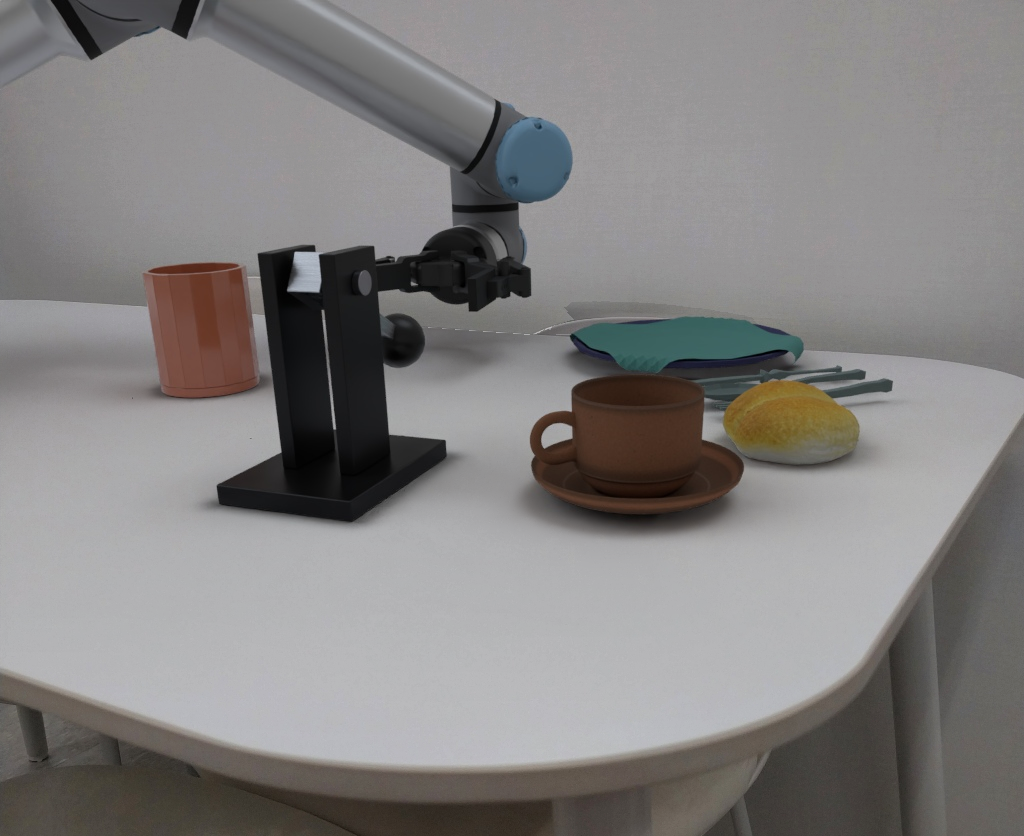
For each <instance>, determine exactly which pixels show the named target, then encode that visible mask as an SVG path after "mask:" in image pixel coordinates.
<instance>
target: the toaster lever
mask: <svg viewBox="0 0 1024 836" xmlns="http://www.w3.org/2000/svg"><path fill="white" fill-rule="evenodd" d="M327 252H328V251H316V252H295V254H294V258H293V263H292V268H291V273H290V278H289V283H288V288H287V292H288V293H290V294H291V295H293V296H294V297H296V298H297V299H298V300H300V301H301V302H303V303H304V304H306V305H307V306H308V307H310V308H311V309H313V310H322V311H324V304H323V294H322V284H321V274H320V263H319V254H323V253H327ZM380 325H381V337H382V350H383V363H384V366H387V367H390V368H395V369H404V368H407V367H410V366H412V365H414V364H415V363H416V362H417V361H419V359H420V358H421V356H422V355H423V353H424V352H425V351H424V350H425V347H426V335H425V331H424V329H423V327H422V326H421V324H420V323H419V322H418V320H416V319H415V318H414V317H412V316H411V315H408V314H406V313H401V312H395V313H389V314H387V315H385V316H384V315H383V314H382V313H380Z"/></svg>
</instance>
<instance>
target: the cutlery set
mask: <svg viewBox="0 0 1024 836" xmlns="http://www.w3.org/2000/svg"><path fill="white" fill-rule="evenodd" d="M569 339H570V341H571V342H572V343H573V345H574V346H575V348H576V349H577V350H578V351H579V352H581V353H582V354H585V355H588V356H590V357H592V358H596V359H599V360H603V361H606V362H607V361H608V362H611V363H612V362H613V363H617V364H618V365H619V366H620V367H621V368H623V370H626V371H630V372H636V371H639V372H642V373H646V372H647V373H648V372H649V373H651V374H652V373H653V374H657V373H659V372H661V371H662V370H663V369H685V370H686V369H691V370H693V369H694V370H700V369H701V370H702V369H717V368H718V369H719V368H720V369H721V368H733V367H740V366H747V365H754V364H760V363H763V362H767V361H769V360H773V359H777V358H780V357H782V356H785V355H786V354H788V353H789V352H790V353H791V354H792V355H793V356H794V357H795V358H794V362H793V363H792V365H794V364H796V362H797V361H798V360H799V359H800V358H801V356H802V355H803V353H804V350H805V349H804V348H805V346H804V342H803V340H802V339H801V338H800V337H799V336H797V335H794V334H793V335H792V334H790V333H788V332H786V331H784V330H781V329H779V328H775V327H771V326H767V325H762V324H758V323H752V322H750V321H749V320H746V319H739V318H738V319H737V318H731V317H730V318H729V317H728V318H725V317H713V316H709V317H707V316H688V315H687V316H680V317H675V318H660V319H641V320H633V321H632V320H631V321H624V322H614V323H613V322H598V323H593V324H591V325H588V326H585V327H582V328H579V329H578V330H576V331H574V332H572V333H570V335H569ZM808 374H809V376H806V377H801V378H797V379H791V381H797V382H801V383H805V384H808V385H811V384H818V383H819V384H820V383H829V382H830V383H831V382H840V381H862V380H866V376H867V375H866V374H867V371H866V370H863V369H861V368H855V369H849V370H844V371H843V366H841V365H836V366H835V367H827V368H819V369H800V370H799V369H798V370H790V371H786V370H781V369H775V368H773V369H771V370H770V371H766V370H765V369H761V368H760V370H759V374H750V375H734V376H723V377H711V378H701V379H693V380H692V379H691V381H693V382H696V383H698V384H700V385H701V386H702V387H703V388H704V390H705V398H704V399H708V400H712V401H721V402H711V406H712V407H715V408H716V409H719V410H720V411H726V409H727V407H728V406H729V405H730V404H731V403H732V402H733V401H734V400H735V399H736V398H737V397H739V396H740V395H741V394H743V393H744V392H746V391H747V390H749V389H751V388H753V387H754V386H756V385H759V384H761V383H764V382H769V381H772V380H785V378H788V377H790V376H798V375H808ZM810 374H817V375H810ZM758 381H759V383H750V382H758ZM893 384H894V380H891V379H889V378H885V377H883V378H879V379H876V380H868V381H862V382H857V383H854V384H850V385H845V386H840V387H834V388H828V389H823V390H822V389H821V390H822V391H823V392H824V393H826V394H827V395H828V396H830V397H831V398H832V399H833V400H834V399H840V398H847V397H854V396H859V395H865V394H870V393H872V394H873V393H890V392H892V391H893Z"/></svg>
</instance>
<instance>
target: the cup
mask: <svg viewBox="0 0 1024 836" xmlns="http://www.w3.org/2000/svg"><path fill="white" fill-rule="evenodd" d="M141 275H142V281H143V288H144V293H145V300H146V306H147V314H148V319H149V325H150V330H151V336H152V343H153V349H154V354H155V361H156V368H157V373H158V379H159V382H160V390H161V392H162V393H163V395H166V396H169V397H176V398H184V399H185V398H186V399H187V398H189V399H192V398H193V399H194V398H195V399H196V398H200V399H201V398H213V397H221V396H222V397H223V396H227V395H228V396H229V395H232V394H238V393H242V392H245V391H248V390H251V389H253V388H254V387H255V388H256V387H257V386H258V385H259V384H260V366H259V357H258V349H257V343H256V335H255V327H254V318H253V311H252V302H251V295H250V287H249V286H250V285H249V280H248V279H249V278H248V271H247V265H246V264H245V263H243V262H234V261H201V262H200V261H199V262H186V263H185V262H184V263H175V264H166V265H159V266H154V267H153V266H152V267H149V268H148V267H147V268H146V269H144V270H141Z"/></svg>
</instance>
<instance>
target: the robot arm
mask: <svg viewBox="0 0 1024 836" xmlns="http://www.w3.org/2000/svg"><path fill="white" fill-rule="evenodd" d="M161 28H163V29H164V30H166V31H169V32H171V33H173V34H175V35H177V36H179V37H181V38H182V39H184V40H186V41H188V42H193V41H196V40H199V39H202V38H207V39H209V40H211V41H213V42H215V43H217V44H219V45H221V46H223V47H225V48H226V49H229V50H230V51H232V52H234V53H236V54H238V55H240V56H241V57H244V58H245V59H247V60H249V61H251V62H253V63H254V64H257V65H258V66H260V67H262V68H264V69H266V70H268V71H270V72H272V73H274V74H275V75H277V76H279V77H281V78H283V79H285V80H286V81H289V82H291V83H292V84H294V85H296V86H298V87H300V88H301V89H304V90H306V91H307V92H309V93H311V94H313V95H314V96H316V97H319V98H321V99H323V100H324V101H326V102H328V103H329V104H331V105H333V106H335V107H338V108H340V109H341V110H343V111H345V112H347V113H349V114H351V115H353V116H354V117H356V118H358V119H360V120H361V121H363V122H366V123H367V124H369V125H371V126H373V127H375V128H377V129H378V130H380V131H382V132H384V133H386V134H388V135H390V136H391V137H394V138H396V139H398V140H400V141H401V142H403V143H405V144H406V145H409V146H411V147H413V148H414V149H416V150H418V151H420V152H421V153H424V154H426V155H427V156H430V157H431V158H433V159H435V160H437V161H439V162H441V163H442V164H444V165H446V166H448V167H449V177H450V194H451V195H450V196H451V221H452V227H450V228H447V229H444V230H441V231H439V232H436V233H435V234H434V235H432V236H431V237H430V238H429V239H428V240H427V241H426V243H425V244H424V246H423V247H422V250H421V252H419V253H418V254H412V255H410V254H409V255H401V256H398V257H397V259H396V257H395V256H392V255H386V256H385V257H381V258H375V261H376V273H377V286H378V293H380V292H381V293H382V292H388V291H389V292H390V291H396V290H398V291H400V292H401V293H405V294H415V293H421V292H423V293H429V294H431V295H432V296H433V297H434V298H435V299H437V300H439V301H440V302H442V303H445V304H449V305H455V306H457V305H458V306H459V305H465V304H468V305H467V307H468V308H467V309H468V312H469V313H473V312H474V313H478V312H479V311H481V310H482V309H484V308H485V307H487V306H488V305H490V304H491V303H493V302H495V301H496V300H497V299H499V298H500V299H503V300H504V299H507V298H510V297H512V295H511V293H512V294H514V295H515V296H517V297H521V298H522V299H526V298H527V299H528V298H530V297H532V268H531V267H529V266H527V265H525V264H524V262H525V260H526V257H527V253H528V242H527V237H526V234H525V232H524V231H523V229H522V227H521V226H520V205H519V204H533V203H534V202H535V203H537V202H544V201H547V200H549V199H551V198H554V197H555V196H556V195H557V194H558V193H560V192H561V191H562V189H563V188H564V187H565V185H566V184H567V182H568V181H569V179H570V176H571V173H572V170H573V161H574V160H573V158H574V157H573V156H574V155H573V150H572V145H571V142H570V140H569V139H568V136H567V135H566V133H565V132H564V131H563V130H562V129H561V128H560V127H559V126H558V125H557V124H555V123H553V122H551V121H549V120H546V119H544V118H542V117H535V116H526V115H524V114H522V113H520V112H519V111H517V110H516V108H515V107H514V105H513V104H512V103H508V102H502V101H499V100H498V99H496V98H494V97H493V96H492V95H490V94H488V93H487V92H485V91H483V90H482V89H480V88H478V87H477V86H475V85H473V84H472V83H470V82H468V81H466V80H464V79H463V78H461V77H459V76H458V75H456V74H454V73H453V72H451V71H449V70H447V69H446V68H444V67H442V66H441V65H439V64H437V63H436V62H434V61H432V60H430V59H429V58H427V57H425V56H424V55H423V54H420V53H418V52H417V51H415V50H413V49H412V48H410V47H408V46H406V45H405V44H403V43H402V42H400V41H398V40H396V39H394V38H393V37H392V36H389V35H388V34H386V33H385V32H383V31H381V30H379V29H378V28H376V27H375V26H373V25H371V24H369V23H367V22H366V21H364V20H362V19H361V18H359V17H357V16H356V15H354V14H352V13H350V12H349V11H347V10H345V9H344V8H342V7H340V6H338V5H337V4H335V3H333V2H331V1H330V0H0V91H2V90H4V89H5V88H7V87H9V86H10V85H12V84H14V83H16V82H18V81H20V80H21V79H23V78H25V77H27V76H28V75H30V74H32V73H34V72H35V71H37V70H39V69H41V68H43V67H44V66H46V65H48V64H49V63H51V62H53V61H55V60H57V59H58V58H60V57H70V58H73V59H76V60H79V61H83V62H85V63H90V62H91V61H94V60H95V59H97V58H98V57H100V56H102V55H103V54H105V53H107V52H109V51H111V50H112V49H114V48H116V47H118V46H119V45H121V44H123V43H125V42H127V41H129V40H130V39H132V38H138V37H139V38H140V37H142V36H143V35H150V34H152V33H155V32H157V31H159V30H160V29H161ZM412 283H413V284H414V285H413V284H412Z"/></svg>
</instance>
